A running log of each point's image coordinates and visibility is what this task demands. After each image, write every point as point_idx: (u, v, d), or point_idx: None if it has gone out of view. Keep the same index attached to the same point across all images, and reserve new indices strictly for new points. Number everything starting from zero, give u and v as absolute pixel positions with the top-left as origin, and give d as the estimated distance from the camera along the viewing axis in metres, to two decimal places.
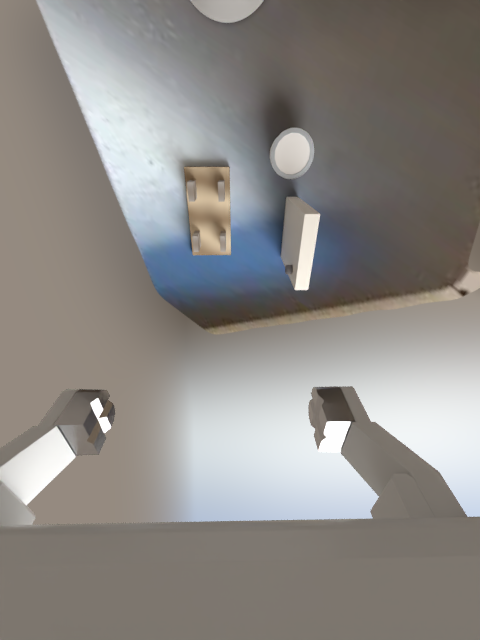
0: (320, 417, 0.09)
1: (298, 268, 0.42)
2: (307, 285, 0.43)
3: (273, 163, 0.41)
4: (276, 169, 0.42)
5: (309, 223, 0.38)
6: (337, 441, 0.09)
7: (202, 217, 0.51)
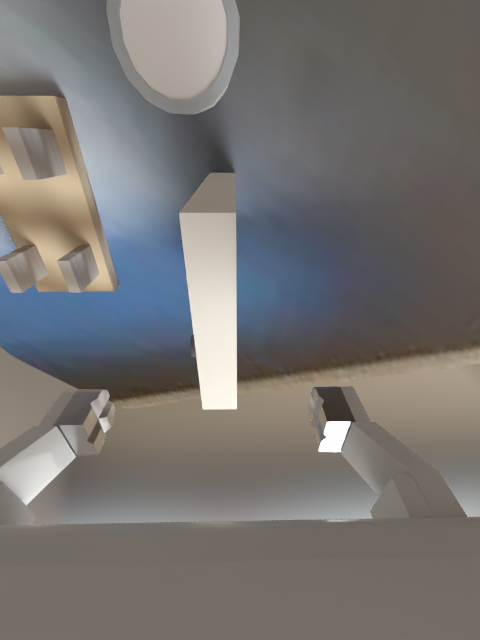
0: (320, 417, 0.09)
1: (200, 366, 0.15)
2: (233, 401, 0.16)
3: (124, 63, 0.14)
4: (138, 83, 0.15)
5: (203, 245, 0.11)
6: (337, 441, 0.09)
7: (31, 217, 0.24)
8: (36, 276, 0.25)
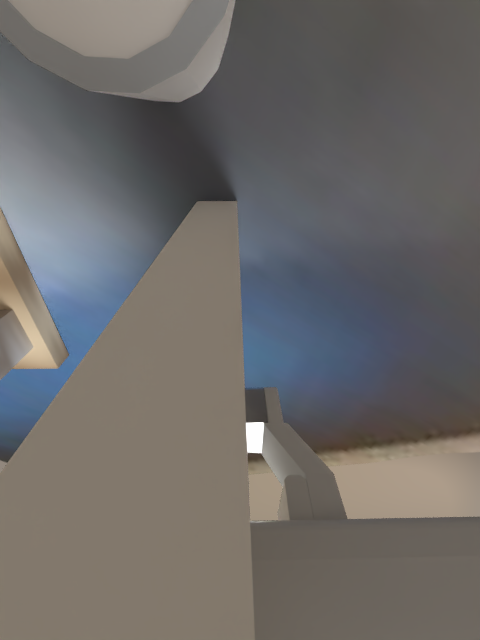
0: None
1: None
2: None
3: None
4: None
5: None
6: (255, 442, 0.09)
7: None
8: None
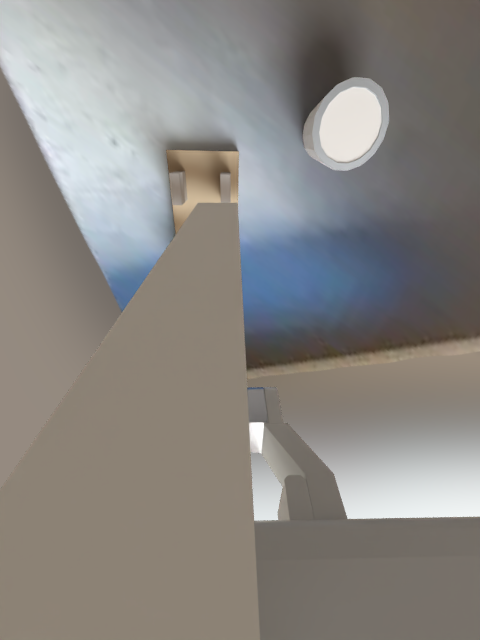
0: None
1: None
2: None
3: (316, 143, 0.24)
4: (320, 153, 0.25)
5: None
6: (255, 442, 0.09)
7: None
8: None
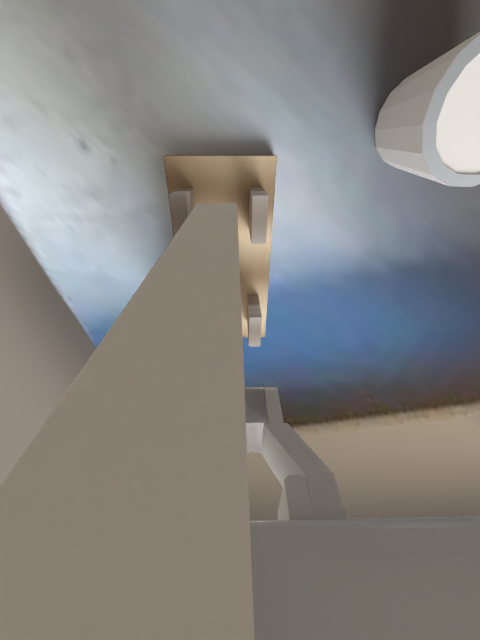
0: None
1: None
2: None
3: (427, 140, 0.14)
4: (431, 159, 0.14)
5: None
6: (255, 442, 0.09)
7: None
8: None
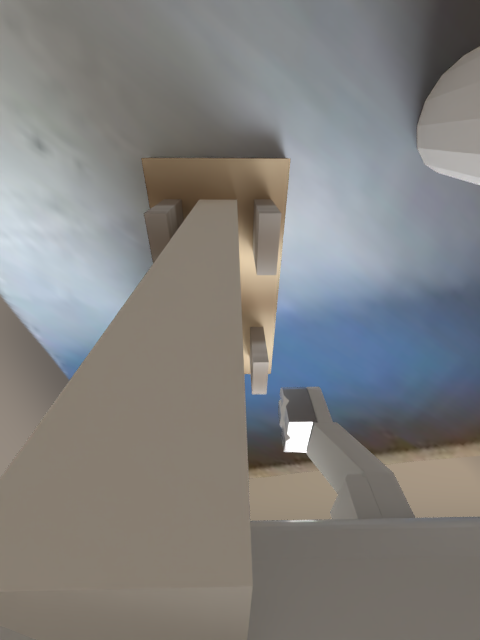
0: (285, 418, 0.09)
1: None
2: None
3: None
4: None
5: (104, 629, 0.02)
6: (302, 441, 0.09)
7: None
8: None
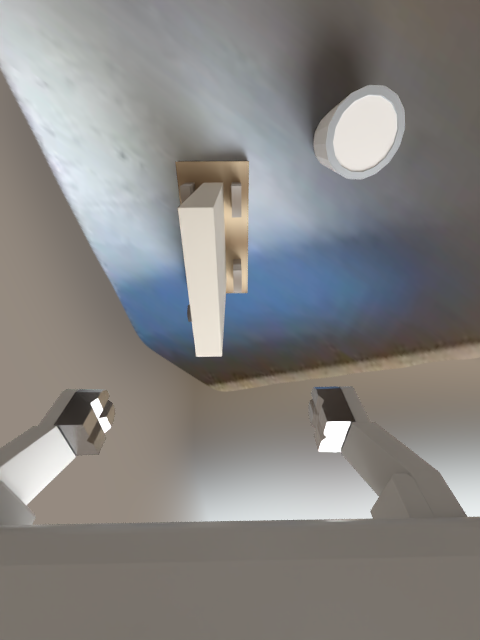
0: (320, 417, 0.09)
1: (193, 319, 0.21)
2: (218, 349, 0.22)
3: (330, 152, 0.24)
4: (334, 163, 0.24)
5: (193, 229, 0.17)
6: (337, 441, 0.09)
7: None
8: None
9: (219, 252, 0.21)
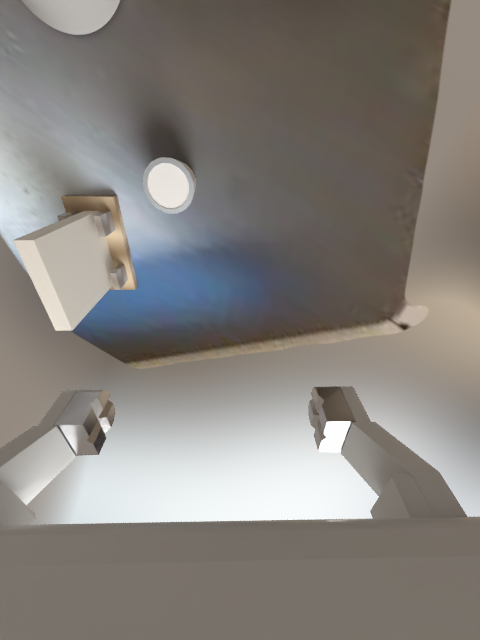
0: (320, 417, 0.09)
1: (45, 305, 0.33)
2: (68, 325, 0.34)
3: (148, 196, 0.36)
4: (153, 203, 0.36)
5: (26, 252, 0.29)
6: (337, 441, 0.09)
7: None
8: None
9: (65, 263, 0.34)
